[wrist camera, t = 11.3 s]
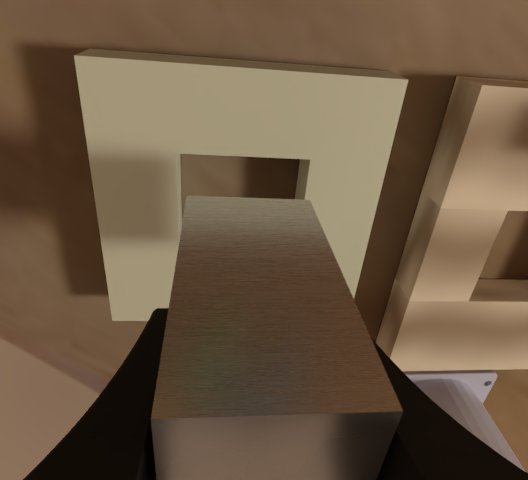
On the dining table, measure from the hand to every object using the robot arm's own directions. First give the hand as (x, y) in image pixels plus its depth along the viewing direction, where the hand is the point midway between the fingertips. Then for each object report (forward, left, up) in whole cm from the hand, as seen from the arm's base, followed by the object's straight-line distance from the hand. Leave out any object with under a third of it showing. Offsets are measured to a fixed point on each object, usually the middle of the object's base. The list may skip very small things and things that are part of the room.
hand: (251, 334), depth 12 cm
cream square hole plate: (0, 0, -9) cm, 9 cm away
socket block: (-2, -15, -9) cm, 18 cm away
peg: (+1, 0, -3) cm, 4 cm away
